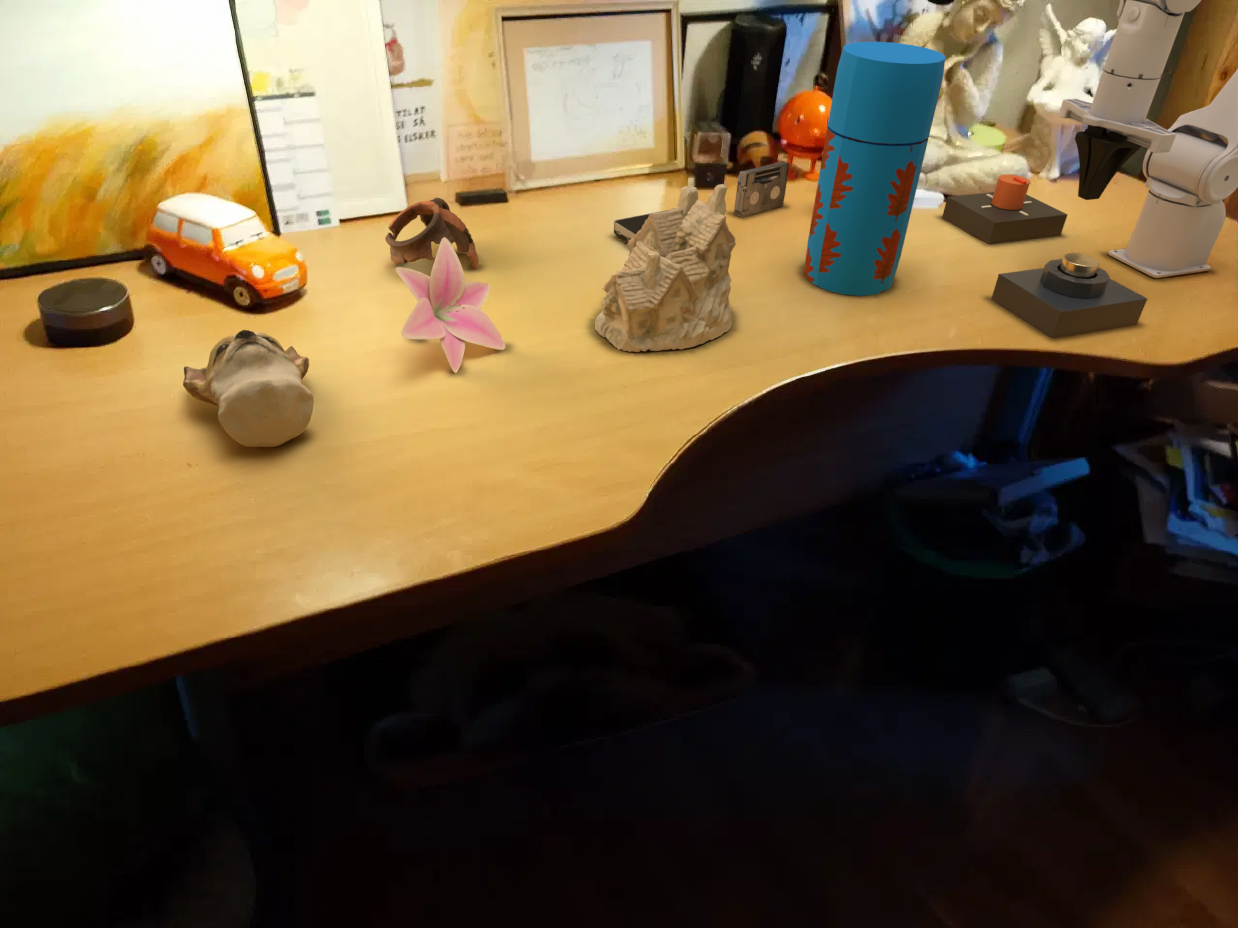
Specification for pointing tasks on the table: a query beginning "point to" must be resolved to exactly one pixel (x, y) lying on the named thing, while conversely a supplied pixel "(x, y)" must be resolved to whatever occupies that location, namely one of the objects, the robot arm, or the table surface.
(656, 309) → the ceramic cottage
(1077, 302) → the square base push button
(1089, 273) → the metal button cap
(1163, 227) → the robot arm
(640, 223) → the external hard drive
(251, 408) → the ceramic sculpture
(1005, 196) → the dial
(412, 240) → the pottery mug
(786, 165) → the mini dv tape
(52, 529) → the table surface
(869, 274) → the thermos
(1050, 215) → the dark grey dial base
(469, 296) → the lily
